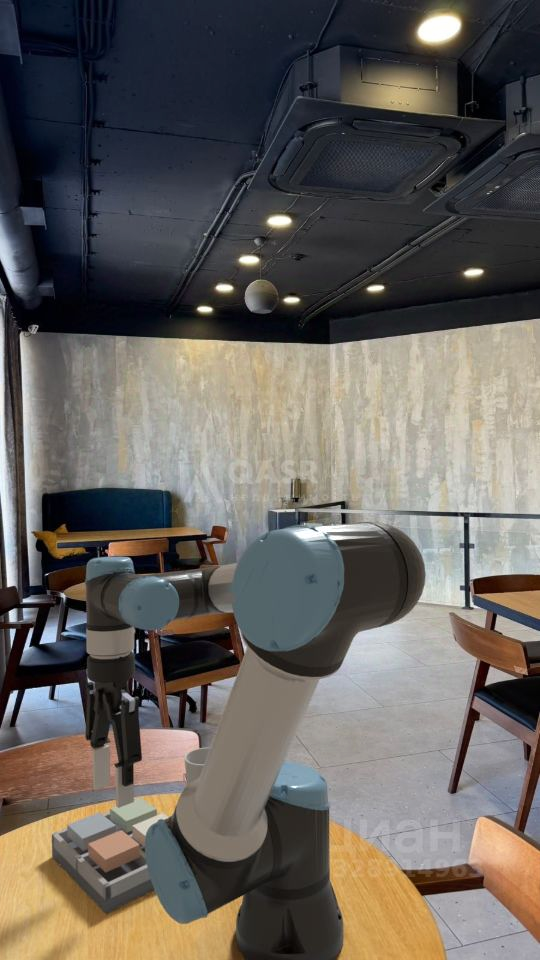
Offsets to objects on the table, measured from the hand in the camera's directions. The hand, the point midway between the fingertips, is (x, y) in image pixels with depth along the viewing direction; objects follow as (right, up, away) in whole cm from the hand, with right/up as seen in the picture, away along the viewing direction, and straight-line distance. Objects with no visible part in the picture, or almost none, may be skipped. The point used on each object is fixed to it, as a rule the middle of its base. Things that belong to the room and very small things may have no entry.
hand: (113, 795), depth 102 cm
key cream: (+6, -10, +5) cm, 13 cm away
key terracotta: (0, -10, 0) cm, 10 cm away
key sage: (+1, -10, +11) cm, 15 cm away
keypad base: (+1, -14, +5) cm, 15 cm away
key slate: (-5, -10, +6) cm, 13 cm away
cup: (+13, -14, +19) cm, 27 cm away
